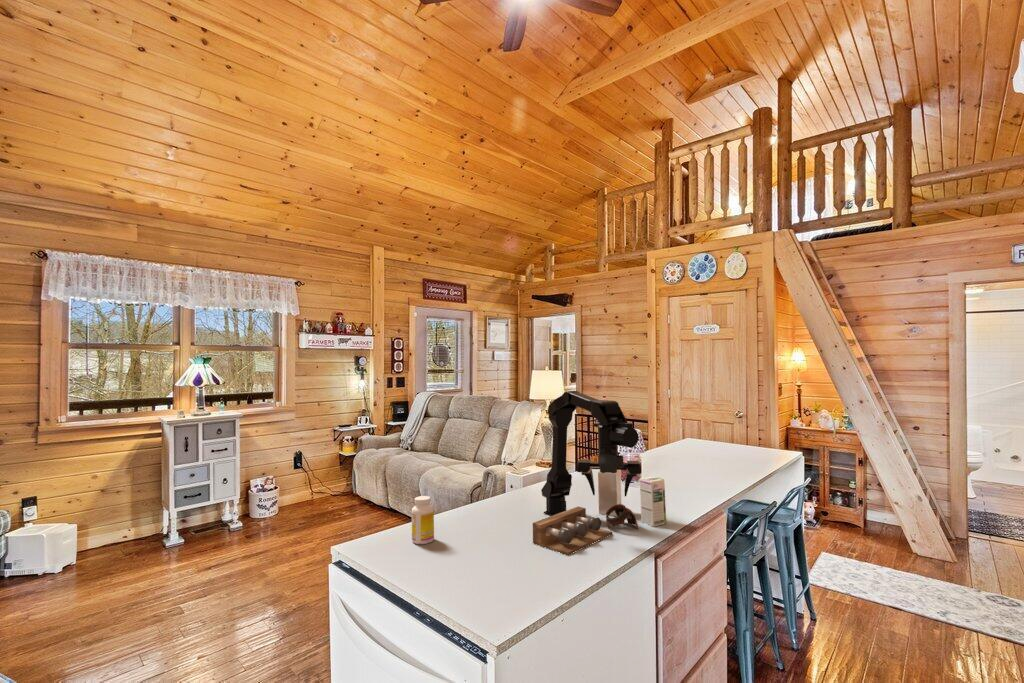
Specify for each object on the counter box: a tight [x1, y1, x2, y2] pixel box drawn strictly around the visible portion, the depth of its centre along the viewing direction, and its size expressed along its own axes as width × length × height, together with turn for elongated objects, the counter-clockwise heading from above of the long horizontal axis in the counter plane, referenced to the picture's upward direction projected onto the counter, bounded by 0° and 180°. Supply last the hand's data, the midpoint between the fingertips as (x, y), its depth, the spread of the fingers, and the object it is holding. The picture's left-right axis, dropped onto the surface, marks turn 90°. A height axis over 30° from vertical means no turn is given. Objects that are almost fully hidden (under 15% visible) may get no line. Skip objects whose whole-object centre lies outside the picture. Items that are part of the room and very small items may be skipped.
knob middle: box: [561, 521, 588, 537], centre depth 143 cm, size 8×4×4 cm, turn 45°
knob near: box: [546, 527, 573, 544], centre depth 138 cm, size 8×4×4 cm, turn 45°
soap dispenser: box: [597, 470, 622, 517], centre depth 169 cm, size 6×9×22 cm
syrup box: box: [639, 476, 667, 528], centre depth 156 cm, size 6×6×14 cm
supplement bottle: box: [411, 495, 435, 545], centre depth 144 cm, size 7×7×13 cm
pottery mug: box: [605, 503, 639, 530], centre depth 153 cm, size 12×10×8 cm
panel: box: [532, 506, 613, 556], centre depth 143 cm, size 13×22×6 cm, turn 135°
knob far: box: [575, 515, 602, 531], centre depth 148 cm, size 8×4×4 cm, turn 45°
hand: (609, 495), depth 142 cm, fingers open, 9 cm apart
